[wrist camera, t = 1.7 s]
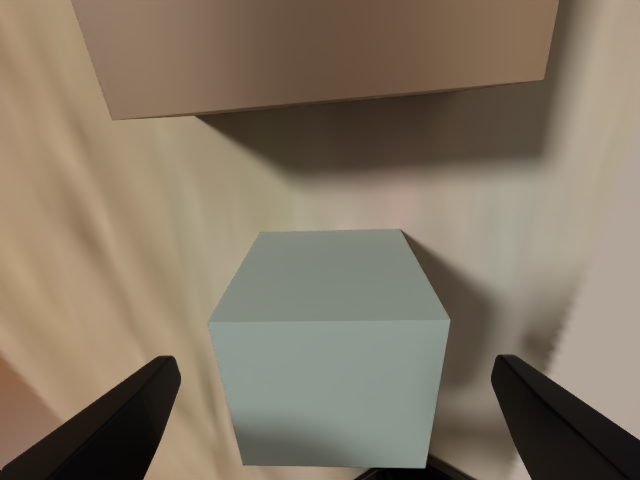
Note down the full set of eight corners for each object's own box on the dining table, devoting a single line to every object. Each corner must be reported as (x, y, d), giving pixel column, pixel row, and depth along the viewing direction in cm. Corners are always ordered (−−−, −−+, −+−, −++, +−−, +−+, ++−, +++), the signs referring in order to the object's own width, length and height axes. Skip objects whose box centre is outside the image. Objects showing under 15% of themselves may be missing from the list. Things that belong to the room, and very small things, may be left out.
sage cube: (398, 227, 10) (450, 320, 6) (391, 337, 12) (425, 468, 8) (260, 231, 11) (207, 321, 6) (274, 337, 13) (243, 465, 8)
